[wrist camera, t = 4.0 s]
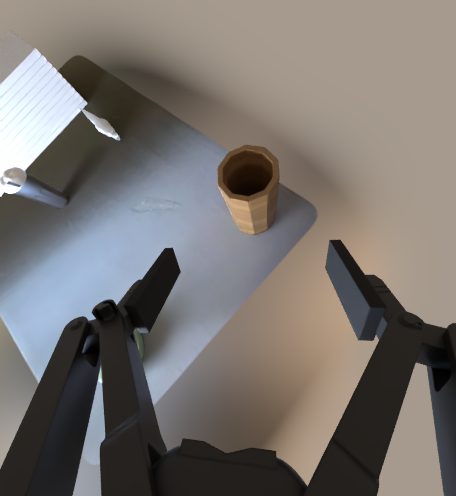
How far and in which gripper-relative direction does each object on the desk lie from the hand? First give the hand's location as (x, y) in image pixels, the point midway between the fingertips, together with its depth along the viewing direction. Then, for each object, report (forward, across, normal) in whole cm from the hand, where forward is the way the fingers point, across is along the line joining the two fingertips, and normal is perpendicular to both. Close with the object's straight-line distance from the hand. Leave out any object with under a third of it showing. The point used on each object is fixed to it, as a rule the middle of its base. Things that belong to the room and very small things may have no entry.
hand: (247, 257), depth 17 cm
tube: (+16, 0, +3) cm, 16 cm away
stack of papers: (+32, +52, -12) cm, 62 cm away
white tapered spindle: (+33, +32, -13) cm, 48 cm away
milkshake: (+21, +38, -1) cm, 44 cm away
